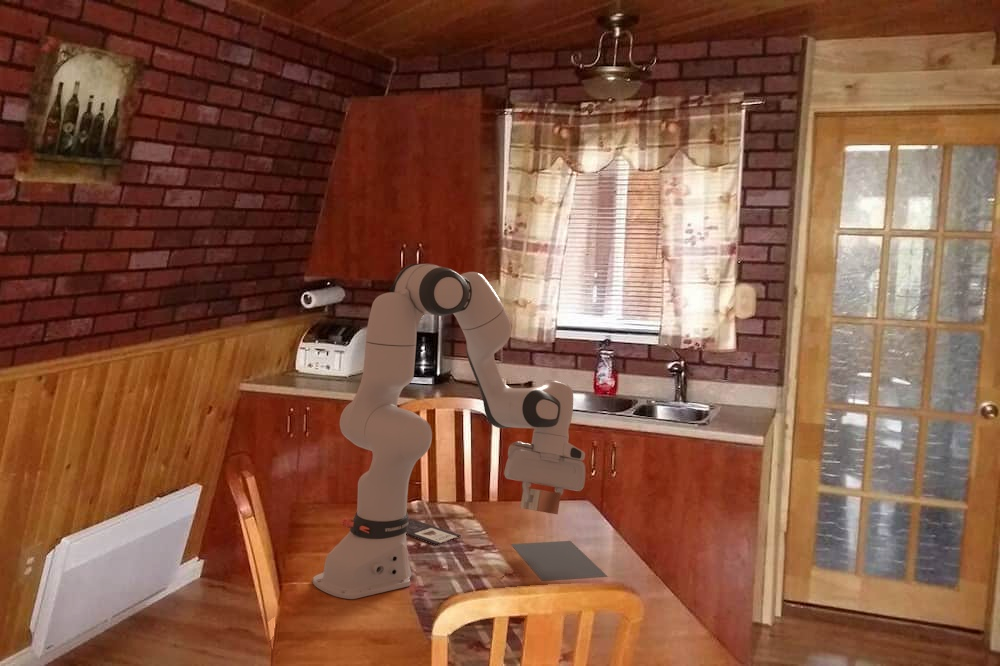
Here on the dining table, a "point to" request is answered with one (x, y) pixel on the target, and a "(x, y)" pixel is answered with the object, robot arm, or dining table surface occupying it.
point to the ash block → (542, 501)
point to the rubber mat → (557, 560)
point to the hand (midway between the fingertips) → (540, 504)
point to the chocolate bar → (428, 532)
